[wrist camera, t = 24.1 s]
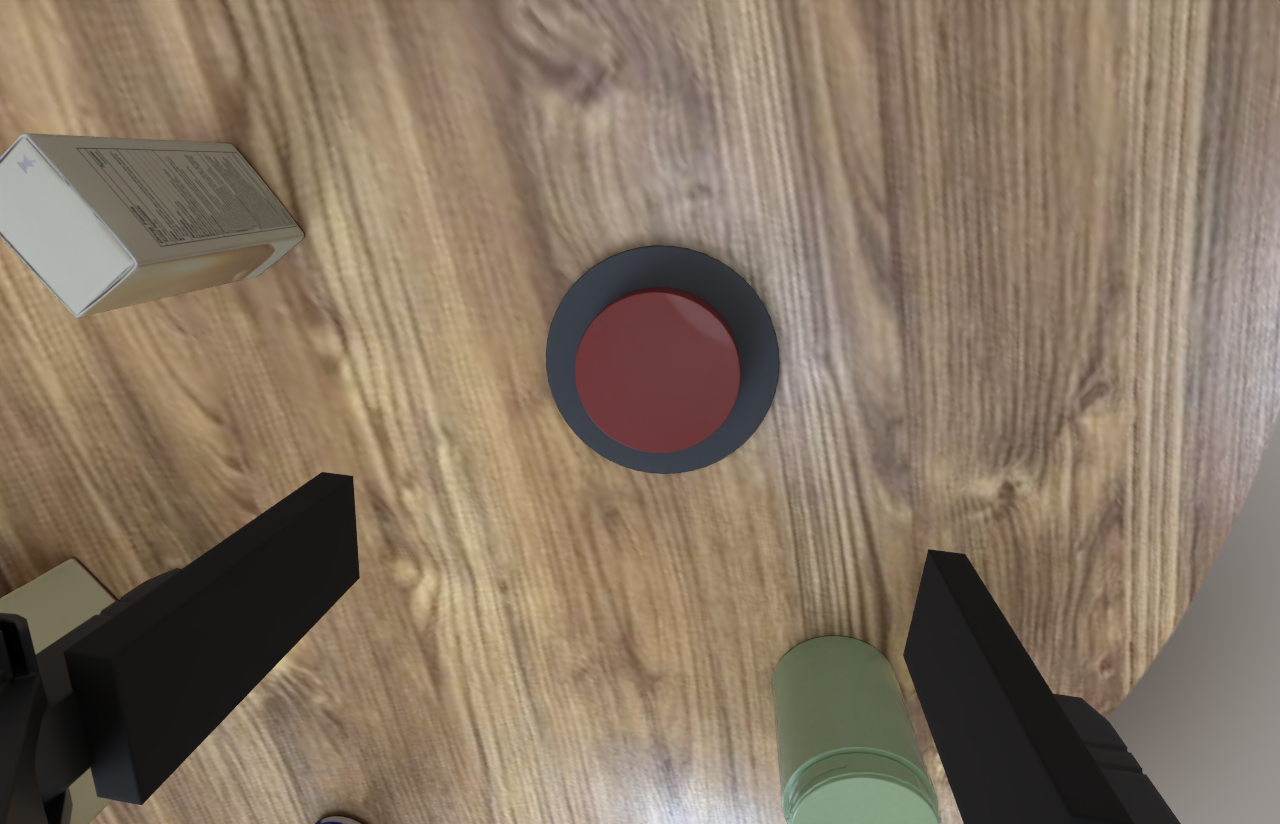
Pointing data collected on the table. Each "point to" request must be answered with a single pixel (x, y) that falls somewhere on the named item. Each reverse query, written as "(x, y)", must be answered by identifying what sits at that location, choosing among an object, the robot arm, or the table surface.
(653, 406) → the lid
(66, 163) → the cosmetic box
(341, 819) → the beverage can
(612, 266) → the coaster
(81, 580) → the gift box
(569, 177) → the table surface
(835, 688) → the jar
